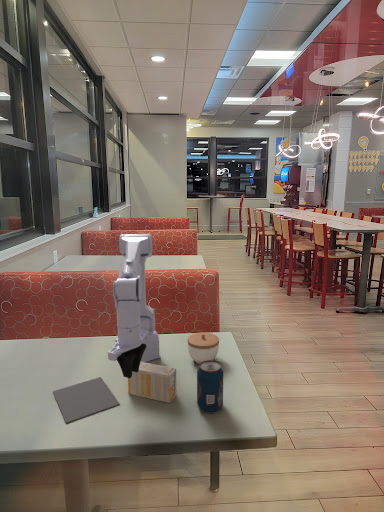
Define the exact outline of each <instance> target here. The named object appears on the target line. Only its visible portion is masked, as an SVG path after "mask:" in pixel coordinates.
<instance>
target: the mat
mask: <svg viewBox="0 0 384 512" xmlns="http://www.w3.org/2000/svg"><path fill="white" fill-rule="evenodd" d="M52 393H53V396H54V397H55V401H56V402H57V406H58V407H59V410H60V412H61V415H62V416H63V419H64V422H65V424H69V423H72V422H74V421H78V420H80V419H83V418H86V417H90V416H92V415H95V414H98V413H100V412H103V411H106V410H109V409H111V408H114V407H117V406H121V403H120V402H119V401H118V399H117V397H116V396H115V395H114V394H113V392H112V390H111V389H110V388H109V386H108V385H107V384H106V383H105V381H104V379H103V377H101V376H100V377H96V378H93V379H89V380H86V381H83V382H80V383H76V384H73V385H69V386H65V387H62V388H59V389H56V390H53V391H52Z"/></svg>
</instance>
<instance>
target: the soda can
mask: <svg viewBox="0 0 384 512" xmlns="http://www.w3.org/2000/svg"><path fill="white" fill-rule="evenodd" d="M198 365H199V366H198V368H197V371H196V404H197V407H198V408H199V409H200V411H202V412H204V413H207V414H215V413H218V412H219V411H220V410H221V408H222V407H223V405H224V370H223V368H222V364H221V363H220V362H218V361H217V360H214V359H213V360H207V361H203V362H201V363H200V364H198Z"/></svg>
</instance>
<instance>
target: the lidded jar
mask: <svg viewBox="0 0 384 512" xmlns="http://www.w3.org/2000/svg"><path fill="white" fill-rule="evenodd" d="M186 340H187V350H188V353H189V356H190V358H191V359H192V360H193V361H194V362H195V363H196V364H198V365H200V363H201V362H203V361H207V360H213V361H214V360H215V358H217V355H218V352H219V348H220V347H219V345H220V338H219V337H218V335H216V334H213V333H211V332H201V331H200V332H194V333H192V334H190V335H189V336H188V337H187V339H186Z"/></svg>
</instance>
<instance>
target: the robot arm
mask: <svg viewBox="0 0 384 512" xmlns="http://www.w3.org/2000/svg"><path fill="white" fill-rule="evenodd" d="M118 246H119V247H118V248H119V253H120V254H121V255H122V256H123V258H124V260H123V261H121V263H120V266H119V269H118V275H117V280H115V279H114V281H113V283H112V297H113V301H114V309H115V310H116V321H117V322H116V327H117V337H116V338H115V340H114V341H115V343H114V345H113V346H112V348H111V349H110V350H108V352H107V359H108V360H109V361H113V362H115V361H117V364H118V365H119V367H120V369H121V372H122V376H123V377H124V378H126V379H128V378H131V377H132V371H133V372H138V371H139V367H140V362H145V363H148V362H151V361H153V360H157V359H160V358H161V354H160V339H159V334H158V331H156V316H155V310H154V308H152V307H150V305H147V298H146V297H147V296H146V295H147V292H146V289H147V286H146V261H147V259H148V258H151V257H153V256H152V255H153V236H152V234H151V233H135V234H134V233H130V234H128V233H126V234H125V233H121V234H120V235H119V238H118Z"/></svg>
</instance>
